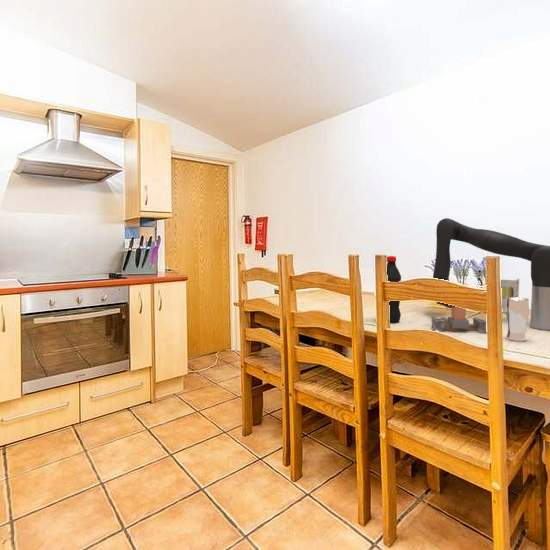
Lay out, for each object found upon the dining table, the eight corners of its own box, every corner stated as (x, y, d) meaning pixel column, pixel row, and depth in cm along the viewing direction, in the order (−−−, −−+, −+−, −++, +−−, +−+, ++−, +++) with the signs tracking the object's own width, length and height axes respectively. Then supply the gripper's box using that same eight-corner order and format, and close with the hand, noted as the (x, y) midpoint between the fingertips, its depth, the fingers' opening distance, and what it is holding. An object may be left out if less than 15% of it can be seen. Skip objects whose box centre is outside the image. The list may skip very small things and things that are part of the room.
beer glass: (504, 340, 130) (506, 299, 128) (504, 335, 136) (506, 296, 134) (527, 342, 126) (529, 300, 125) (527, 338, 132) (529, 297, 130)
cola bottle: (377, 321, 164) (377, 256, 161) (387, 318, 169) (388, 255, 166) (394, 324, 157) (394, 256, 154) (404, 321, 163) (405, 255, 160)
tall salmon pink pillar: (463, 325, 147) (464, 283, 146) (468, 328, 141) (470, 285, 139) (447, 324, 148) (448, 283, 147) (452, 328, 142) (453, 285, 140)
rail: (480, 328, 146) (481, 316, 146) (487, 333, 140) (488, 320, 139) (431, 327, 150) (431, 315, 149) (436, 332, 143) (436, 319, 143)
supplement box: (492, 312, 179) (493, 278, 178) (496, 309, 186) (497, 277, 184) (515, 314, 173) (516, 279, 171) (518, 311, 179) (519, 278, 178)
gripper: (431, 289, 159) (442, 295, 142) (465, 289, 156) (480, 295, 139) (430, 306, 159) (441, 313, 143) (465, 306, 157) (480, 314, 140)
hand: (460, 304), depth 141 cm, fingers closed on tall salmon pink pillar, 4 cm apart
